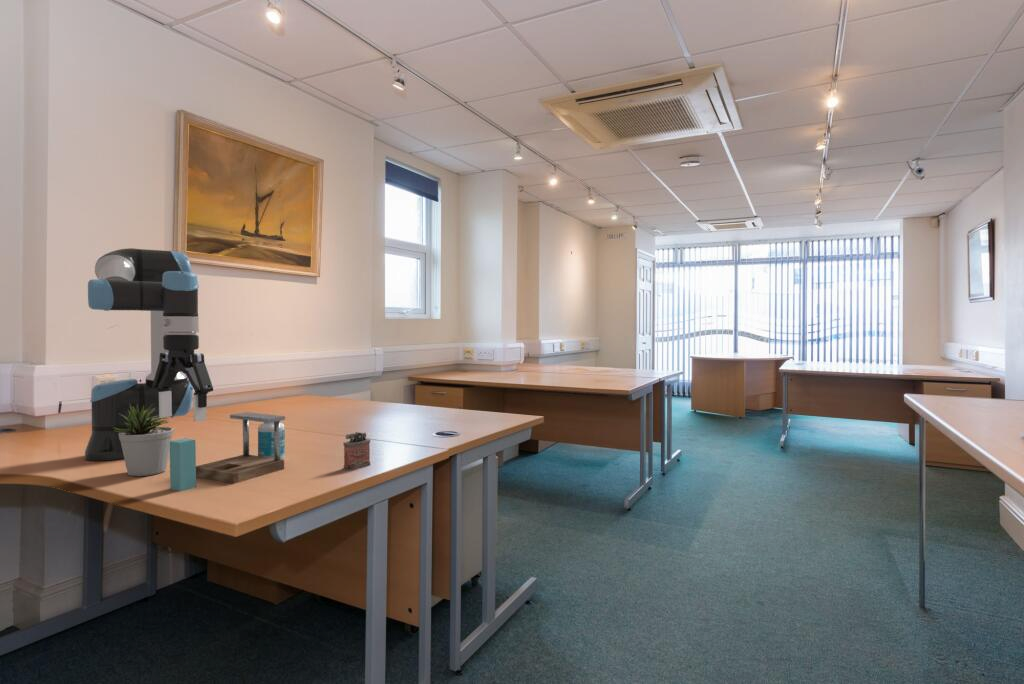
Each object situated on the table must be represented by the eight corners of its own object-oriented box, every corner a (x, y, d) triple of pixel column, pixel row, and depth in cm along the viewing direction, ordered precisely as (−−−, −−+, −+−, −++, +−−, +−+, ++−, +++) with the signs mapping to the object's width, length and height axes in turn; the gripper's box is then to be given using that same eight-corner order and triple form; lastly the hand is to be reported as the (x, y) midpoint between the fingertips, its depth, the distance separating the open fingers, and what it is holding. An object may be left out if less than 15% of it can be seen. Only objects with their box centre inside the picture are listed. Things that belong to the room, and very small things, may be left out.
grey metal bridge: (230, 466, 155) (229, 414, 155) (247, 462, 160) (246, 412, 160) (269, 473, 148) (268, 419, 148) (285, 468, 153) (285, 416, 153)
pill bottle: (274, 464, 157) (274, 418, 157) (252, 463, 159) (251, 417, 159) (290, 458, 165) (289, 414, 164) (268, 457, 166) (268, 413, 166)
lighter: (366, 463, 159) (366, 429, 159) (372, 465, 157) (372, 431, 156) (341, 468, 154) (341, 433, 153) (347, 470, 151) (346, 435, 151)
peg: (170, 489, 134) (169, 441, 133) (186, 484, 137) (185, 438, 137) (180, 491, 132) (179, 442, 131) (196, 486, 135) (195, 439, 135)
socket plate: (193, 475, 145) (193, 466, 145) (245, 462, 160) (245, 454, 159) (233, 483, 138) (233, 474, 138) (284, 468, 153) (284, 460, 153)
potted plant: (113, 471, 149) (112, 400, 148) (171, 464, 157) (170, 396, 157) (114, 482, 139) (112, 405, 138) (176, 473, 147) (175, 401, 147)
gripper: (135, 333, 135) (136, 417, 136) (199, 334, 125) (200, 425, 125) (165, 333, 142) (166, 413, 143) (228, 333, 131) (229, 420, 132)
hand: (182, 419), depth 134 cm, fingers open, 13 cm apart
